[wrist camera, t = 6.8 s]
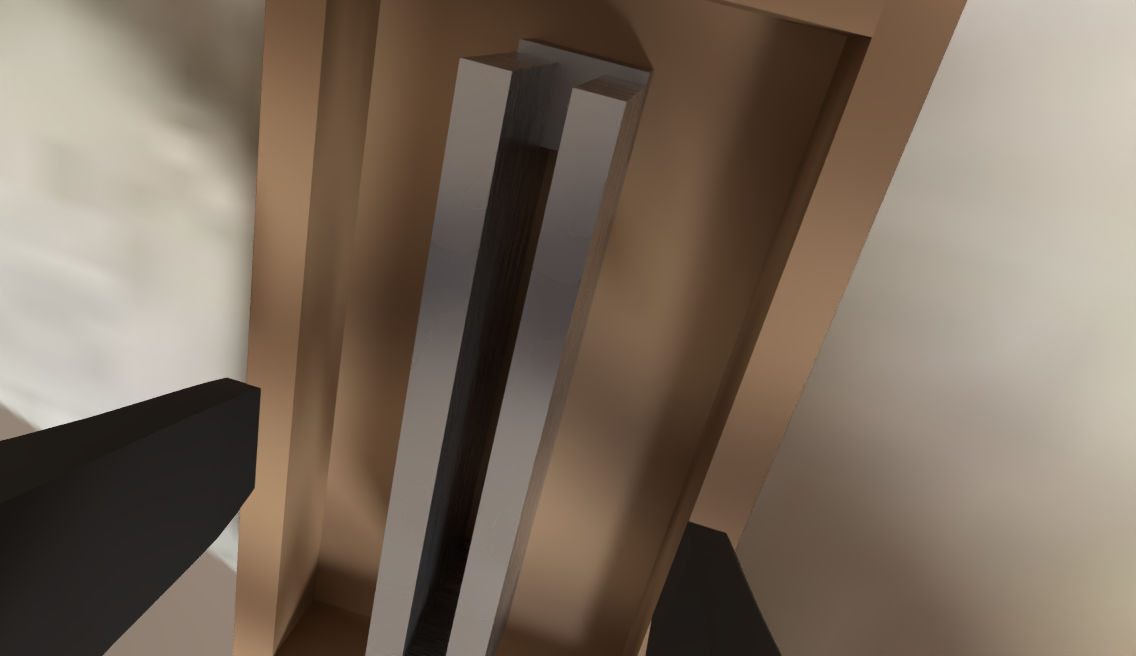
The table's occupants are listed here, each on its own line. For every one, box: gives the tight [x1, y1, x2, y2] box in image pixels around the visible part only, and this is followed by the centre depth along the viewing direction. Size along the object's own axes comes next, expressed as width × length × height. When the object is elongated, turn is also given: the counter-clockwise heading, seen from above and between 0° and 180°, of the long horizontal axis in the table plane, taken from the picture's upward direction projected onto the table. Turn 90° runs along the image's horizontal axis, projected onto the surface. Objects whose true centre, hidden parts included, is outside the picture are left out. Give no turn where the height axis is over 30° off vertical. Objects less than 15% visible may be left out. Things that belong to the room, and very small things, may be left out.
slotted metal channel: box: [365, 38, 654, 656], centre depth 13 cm, size 13×2×4 cm, turn 167°
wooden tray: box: [233, 0, 967, 656], centre depth 15 cm, size 18×10×3 cm, turn 167°
